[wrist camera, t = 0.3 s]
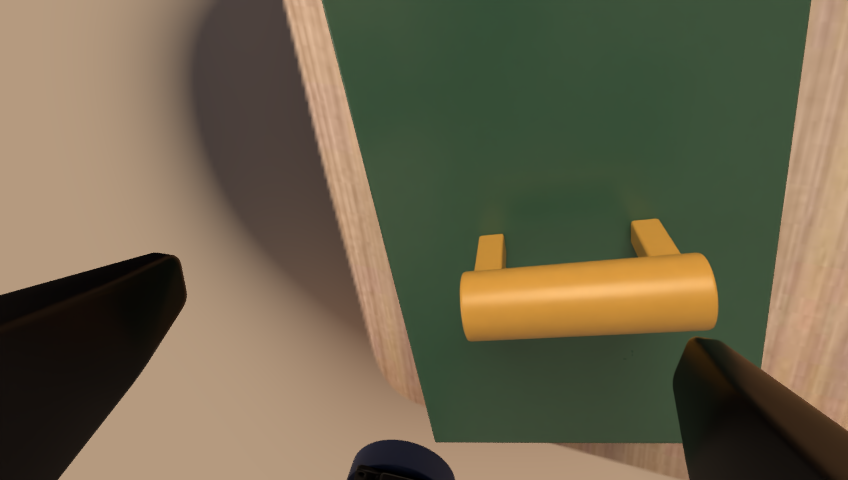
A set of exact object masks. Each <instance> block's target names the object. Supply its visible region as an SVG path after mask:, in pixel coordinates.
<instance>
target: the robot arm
mask: <svg viewBox="0 0 848 480" xmlns="http://www.w3.org/2000/svg"><path fill="white" fill-rule="evenodd" d="M186 298H187V293H186V286H185V281H184V276H183V272H182V266H181V263H180V260H179V259H178V258H177V257H176V256H174V255H169V254H162V253H150V254H147V255H143V256H139V257H136V258H133V259H129V260H125V261H122V262H118V263H114V264H111V265H107V266H104V267H100V268H96V269H93V270H89V271H86V272H82V273H78V274H75V275H71V276H67V277H64V278H61V279H57V280H53V281H49V282H46V283H43V284H39V285H35V286H32V287H28V288H25V289H21V290H17V291H14V292H10V293H6V294H3V295H0V480H58V479H59V477H60V476H61V475H62V474H63V472H64V471H65V470H66V469H67V467H68V466H69V465H70V464H71V462H72V461H73V460H74V458H75V457H76V456H77V455H78V453H79V452H80V451H81V449H82V448H83V447H84V446H85V444H86V443H87V442H88V441H89V439H90V438H91V437H92V435H93V434H94V433H95V432H96V430H97V429H98V428H99V427H100V425H101V424H102V423H103V421H104V420H105V419H106V418H107V416H108V415H109V414H110V412H111V411H112V410H113V409H114V407H115V406H116V405H117V404H118V402H119V401H120V400H121V398H122V397H123V396H124V395H125V393H126V392H127V391H128V389H129V388H130V387H131V386H132V384H133V383H134V382H135V380H136V379H137V378H138V376H139V375H140V373H141V372H142V370H143V369H144V367H145V366H146V365H147V363H148V362H149V360H150V358H151V357H152V356H153V354H154V352H155V351H156V349H157V348H158V346H159V344H160V343H161V341H162V340H163V338H164V336H165V335H166V333H167V332H168V330H169V329H170V327H171V326H172V324H173V322H174V321H175V319H176V318H177V316H178V315H179V313H180V311H181V310H182V308H183V306H184V304H185V302H186ZM673 392H674V398H675V404H676V409H677V415H678V421H679V426H680V432H681V437H682V443H683V449H684V454H685V460H686V465H687V470H688V474H689V478H690V480H848V431H847V430H846V429H844V428H843V427H841V426H840V425H839V424H837V423H836V422H834V421H833V420H831V419H830V418H829V417H827V416H826V415H824V414H823V413H822V412H820V411H819V410H817V409H816V408H815V407H813V406H812V405H810V404H809V403H808V402H806V401H805V400H803V399H802V398H801V397H799V396H798V395H796V394H795V393H794V392H792V391H791V390H789V389H788V388H787V387H785V386H784V385H782V384H781V383H780V382H778V381H777V380H775V379H774V378H773V377H771V376H770V375H768V374H767V373H766V372H764V371H763V370H761V369H760V368H758V367H757V366H756V365H754V364H753V363H751V362H750V361H749V360H747V359H746V358H744V357H743V356H742V355H740V354H739V353H737V352H736V351H735V350H733V349H732V348H730V347H729V346H728V345H726V344H725V343H723V342H722V341H720V340H717V339H710V338H703V337H697V336H695V337H692V338H690V340H689V341H688V342H687V344H686V346H685V349H684V351H683V353H682V356H681V358H680V360H679V363H678V365H677V368H676V370H675V372H674V376H673ZM354 480H424V479H420V478H416V477H412V476H408V475H403V474H399V473H395V472H391V471H387V470H383V469H378V468H374V467H370V466H366V465H358V466H357V468H356V471H355V477H354Z"/></svg>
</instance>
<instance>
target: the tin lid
mask: <svg viewBox="0 0 848 480" xmlns="http://www.w3.org/2000/svg"><path fill="white" fill-rule="evenodd" d="M322 4H323V8H324V12H325V16H326V19H327V23H328V27H329V31H330V35H331V39H332V43H333V47H334V50H335V54H336V58H337V62H338V66H339V70H340V74H341V78H342V82H343V85H344V89H345V93H346V97H347V101H348V105H349V109H350V113H351V117H352V120H353V124H354V128H355V132H356V136H357V140H358V144H359V148H360V151H361V155H362V159H363V163H364V167H365V171H366V175H367V179H368V183H369V186H370V190H371V194H372V198H373V202H374V206H375V210H376V214H377V217H378V221H379V225H380V229H381V233H382V237H383V241H384V245H385V249H386V252H387V256H388V260H389V264H390V268H391V272H392V276H393V280H394V284H395V287H396V291H397V295H398V299H399V303H400V307H401V311H402V315H403V318H404V322H405V326H406V330H407V334H408V338H409V342H410V346H411V350H412V353H413V357H414V361H415V365H416V369H417V373H418V377H419V381H420V385H421V388H422V392H423V396H424V400H425V404H426V408H427V412H428V416H429V419H430V423H431V427H432V431H433V435H434V439H435V442H493V443H494V442H495V443H496V442H497V443H499V442H500V443H504V442H505V443H508V442H509V443H511V442H512V443H519V442H520V443H682V437H681V432H680V426H679V421H678V415H677V409H676V404H675V398H674V392H673V376H674V372H675V370H676V368H677V365H678V363H679V360H680V358H681V356H682V353H683V351H684V349H685V346H686V344H687V342H688V341H689V340H690V338H692V337H695V336H697V337H703V338H710V339H717V340H720V341H722V342H723V343H725V344H726V345H728V346H729V347H730V348H732V349H733V350H735V351H736V352H737V353H739V354H740V355H742V356H743V357H744V358H746V359H747V360H749V361H750V362H751V363H753V364H754V365H756V366H757V367H758V368H760V369H761V364H762V357H763V349H764V342H765V335H766V327H767V320H768V313H769V306H770V298H771V291H772V284H773V276H774V269H775V262H776V254H777V247H778V240H779V232H780V225H781V218H782V211H783V203H784V196H785V189H786V181H787V174H788V167H789V159H790V152H791V145H792V137H793V130H794V123H795V116H796V108H797V101H798V94H799V86H800V79H801V72H802V64H803V57H804V50H805V42H806V35H807V28H808V21H809V13H810V6H811V0H322Z"/></svg>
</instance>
